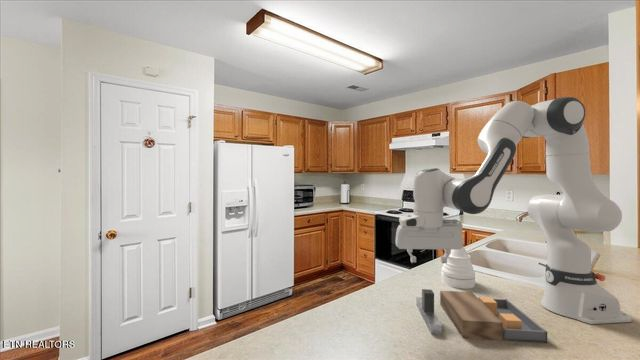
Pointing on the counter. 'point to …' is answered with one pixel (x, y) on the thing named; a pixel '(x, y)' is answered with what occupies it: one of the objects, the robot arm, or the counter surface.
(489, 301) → the block
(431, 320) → the grey stick with cube
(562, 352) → the counter surface
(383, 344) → the counter surface
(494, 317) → the ledge
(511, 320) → the block
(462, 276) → the honey pot
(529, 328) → the tray
